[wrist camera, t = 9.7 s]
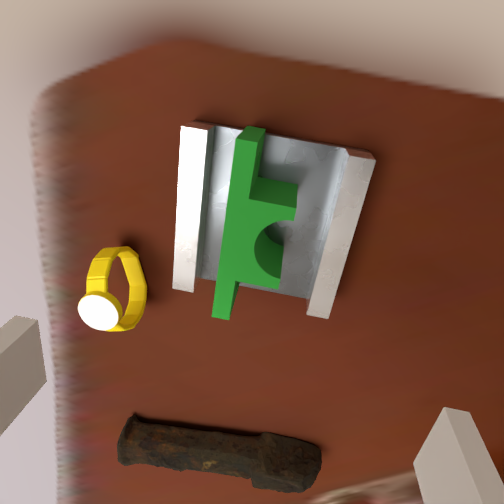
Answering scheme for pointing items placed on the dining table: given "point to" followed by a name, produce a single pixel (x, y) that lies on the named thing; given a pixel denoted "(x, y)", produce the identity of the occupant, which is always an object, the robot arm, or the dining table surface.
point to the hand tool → (223, 454)
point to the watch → (106, 305)
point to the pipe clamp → (251, 224)
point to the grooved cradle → (282, 232)
